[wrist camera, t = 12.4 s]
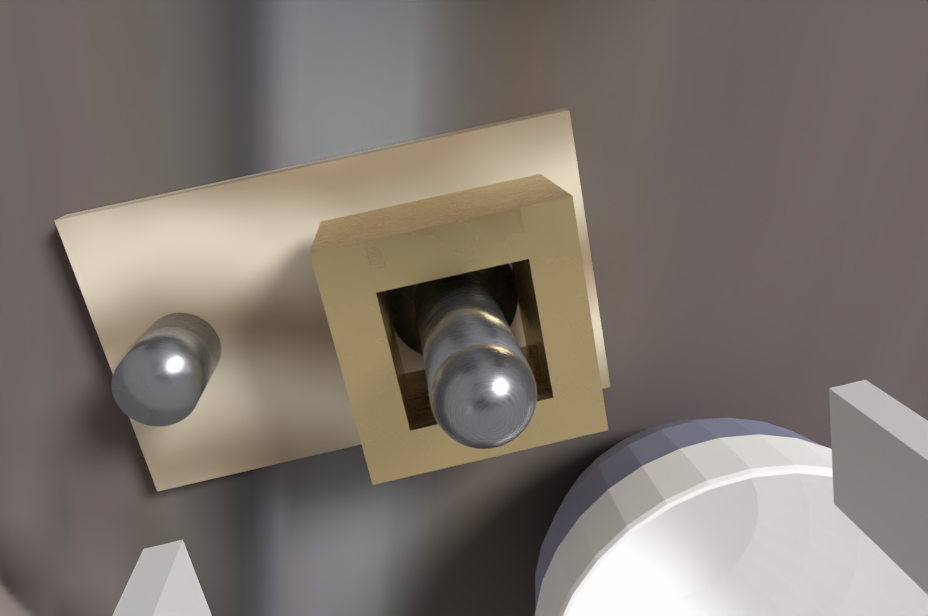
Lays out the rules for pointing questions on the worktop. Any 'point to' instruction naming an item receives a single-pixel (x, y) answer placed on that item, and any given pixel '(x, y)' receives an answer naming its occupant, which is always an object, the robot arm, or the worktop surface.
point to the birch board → (282, 284)
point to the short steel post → (167, 370)
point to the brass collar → (447, 254)
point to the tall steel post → (469, 353)
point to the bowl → (714, 532)
